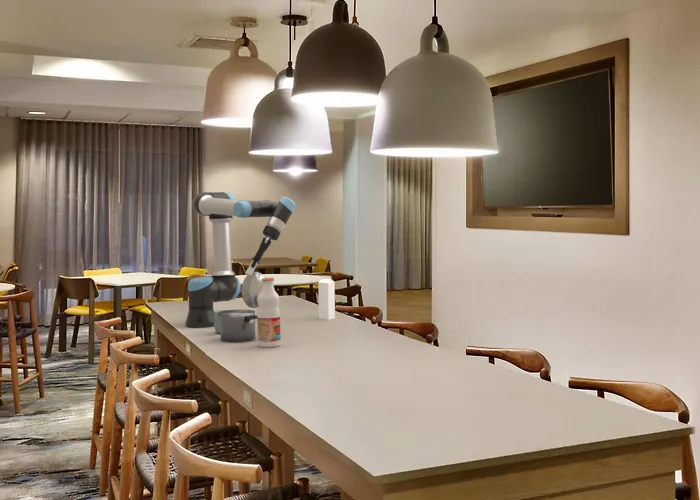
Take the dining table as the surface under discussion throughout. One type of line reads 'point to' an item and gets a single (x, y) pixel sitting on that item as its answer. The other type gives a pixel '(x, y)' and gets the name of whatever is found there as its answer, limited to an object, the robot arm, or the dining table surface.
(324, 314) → the milk
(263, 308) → the fruit juice
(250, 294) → the lid
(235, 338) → the cooker pot
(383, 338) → the dining table surface
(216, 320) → the cup
